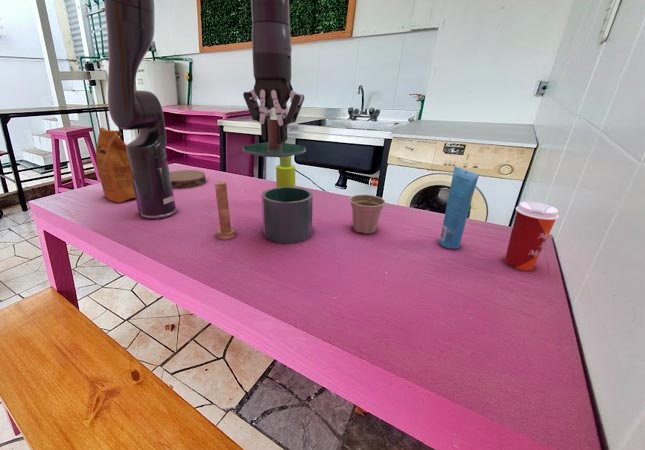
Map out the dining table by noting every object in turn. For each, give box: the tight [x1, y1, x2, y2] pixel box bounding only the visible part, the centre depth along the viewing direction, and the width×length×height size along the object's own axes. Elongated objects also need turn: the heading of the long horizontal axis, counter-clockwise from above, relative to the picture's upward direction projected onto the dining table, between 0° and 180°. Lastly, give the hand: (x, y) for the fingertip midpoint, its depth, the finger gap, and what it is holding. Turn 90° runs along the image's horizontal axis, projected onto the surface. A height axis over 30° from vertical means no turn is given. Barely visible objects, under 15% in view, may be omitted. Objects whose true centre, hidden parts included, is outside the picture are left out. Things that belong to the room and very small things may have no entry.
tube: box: [438, 166, 480, 250], centre depth 72 cm, size 7×5×19 cm, turn 26°
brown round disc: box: [169, 169, 207, 190], centre depth 117 cm, size 16×16×3 cm
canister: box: [260, 186, 314, 244], centre depth 78 cm, size 13×13×11 cm
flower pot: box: [349, 194, 386, 235], centre depth 81 cm, size 9×9×9 cm
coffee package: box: [95, 126, 136, 203], centre depth 96 cm, size 10×12×22 cm
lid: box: [242, 117, 307, 158], centre depth 65 cm, size 14×14×7 cm
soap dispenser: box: [275, 142, 296, 188], centre depth 94 cm, size 6×7×20 cm
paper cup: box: [504, 201, 560, 272], centre depth 66 cm, size 8×8×14 cm
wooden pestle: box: [214, 180, 236, 240], centre depth 74 cm, size 4×4×14 cm
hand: (274, 142), depth 66 cm, fingers closed on lid, 3 cm apart
